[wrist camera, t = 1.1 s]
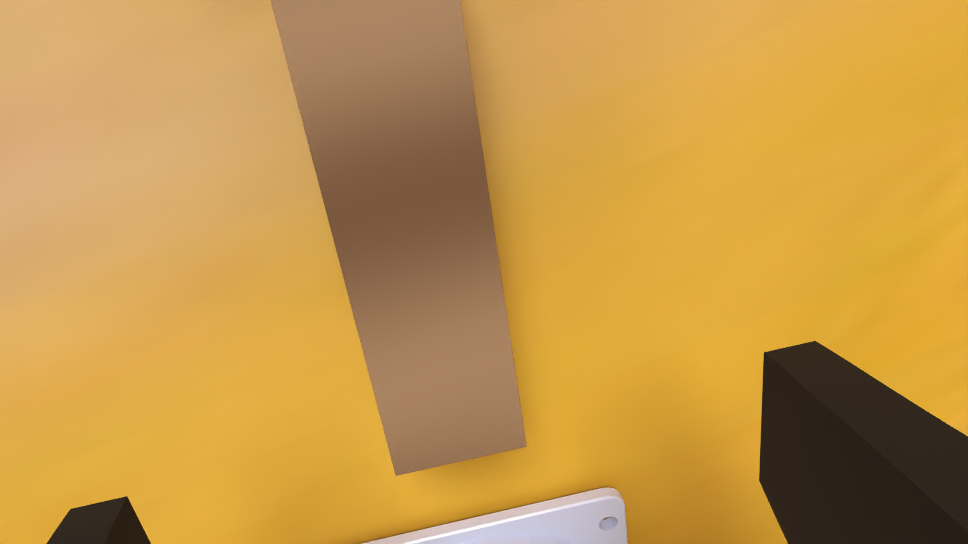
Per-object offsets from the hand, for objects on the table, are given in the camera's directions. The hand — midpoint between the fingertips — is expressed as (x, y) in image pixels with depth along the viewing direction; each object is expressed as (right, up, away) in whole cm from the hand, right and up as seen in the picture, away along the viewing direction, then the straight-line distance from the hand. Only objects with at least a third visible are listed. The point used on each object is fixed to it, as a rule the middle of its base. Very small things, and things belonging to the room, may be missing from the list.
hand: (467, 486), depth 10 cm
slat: (-2, +6, +7) cm, 10 cm away
